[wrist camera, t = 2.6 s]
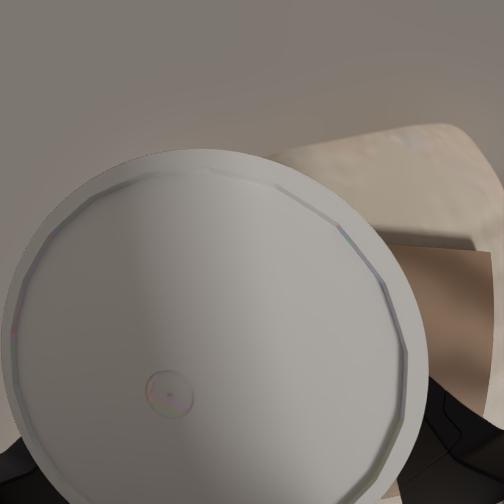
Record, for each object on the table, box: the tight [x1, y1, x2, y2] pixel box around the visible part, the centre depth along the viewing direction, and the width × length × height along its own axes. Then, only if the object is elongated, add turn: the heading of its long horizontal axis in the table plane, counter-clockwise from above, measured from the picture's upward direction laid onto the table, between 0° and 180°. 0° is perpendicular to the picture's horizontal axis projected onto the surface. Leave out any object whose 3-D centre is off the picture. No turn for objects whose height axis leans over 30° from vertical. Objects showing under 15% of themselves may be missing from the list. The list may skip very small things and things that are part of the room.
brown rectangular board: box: [381, 244, 494, 499], centre depth 15 cm, size 18×12×2 cm, turn 176°
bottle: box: [1, 149, 429, 504], centre depth 10 cm, size 7×7×15 cm
